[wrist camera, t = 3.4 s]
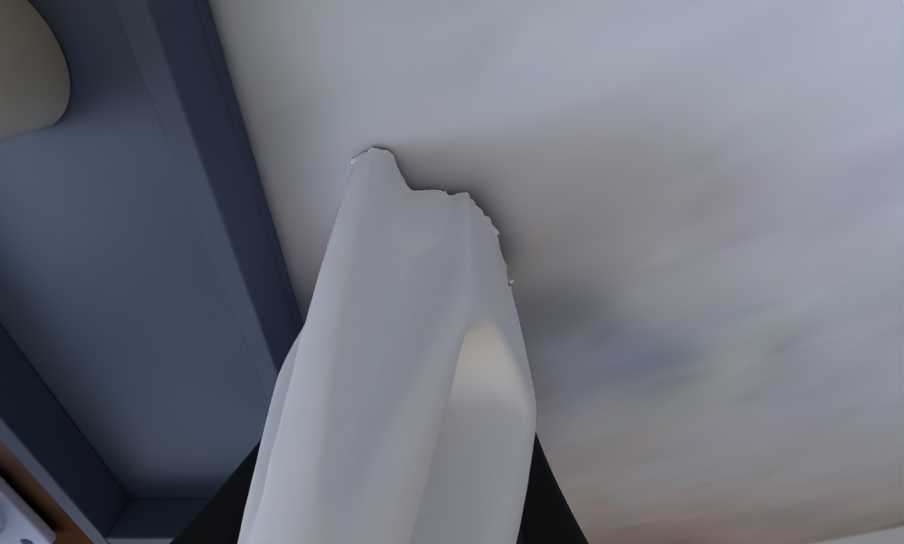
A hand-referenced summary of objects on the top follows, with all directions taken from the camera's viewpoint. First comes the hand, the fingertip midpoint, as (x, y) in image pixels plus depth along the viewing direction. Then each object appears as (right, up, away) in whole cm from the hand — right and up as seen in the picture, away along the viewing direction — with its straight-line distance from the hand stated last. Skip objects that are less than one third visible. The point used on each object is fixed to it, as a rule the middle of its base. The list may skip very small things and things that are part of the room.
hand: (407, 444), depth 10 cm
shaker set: (0, +2, +3) cm, 4 cm away
